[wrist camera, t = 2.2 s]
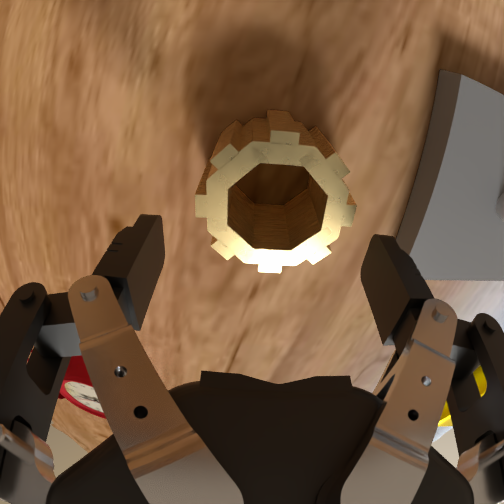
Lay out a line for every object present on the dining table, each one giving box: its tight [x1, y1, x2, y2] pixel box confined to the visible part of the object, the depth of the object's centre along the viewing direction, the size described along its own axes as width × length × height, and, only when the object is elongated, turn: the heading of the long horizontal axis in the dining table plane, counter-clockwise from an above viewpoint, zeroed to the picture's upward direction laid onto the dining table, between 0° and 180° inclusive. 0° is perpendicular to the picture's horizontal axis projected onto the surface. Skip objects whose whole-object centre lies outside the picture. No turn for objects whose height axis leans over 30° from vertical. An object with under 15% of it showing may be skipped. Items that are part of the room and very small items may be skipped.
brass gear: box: [195, 110, 357, 273], centre depth 13 cm, size 6×6×4 cm
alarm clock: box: [27, 350, 106, 419], centre depth 26 cm, size 10×6×15 cm
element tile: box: [438, 366, 487, 426], centre depth 31 cm, size 15×15×5 cm
